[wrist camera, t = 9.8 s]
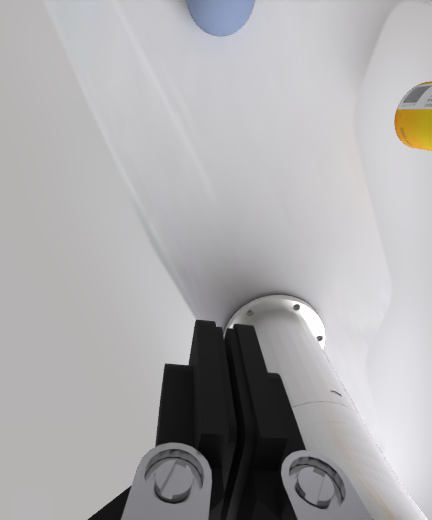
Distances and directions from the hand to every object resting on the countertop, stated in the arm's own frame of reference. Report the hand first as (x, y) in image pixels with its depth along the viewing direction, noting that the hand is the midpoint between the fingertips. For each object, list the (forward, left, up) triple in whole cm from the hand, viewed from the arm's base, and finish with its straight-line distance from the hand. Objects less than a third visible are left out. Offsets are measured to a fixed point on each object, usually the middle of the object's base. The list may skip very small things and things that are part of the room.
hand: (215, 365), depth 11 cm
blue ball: (+11, -11, -26) cm, 31 cm away
